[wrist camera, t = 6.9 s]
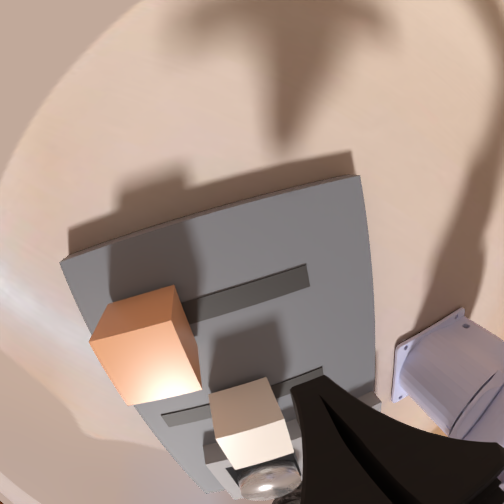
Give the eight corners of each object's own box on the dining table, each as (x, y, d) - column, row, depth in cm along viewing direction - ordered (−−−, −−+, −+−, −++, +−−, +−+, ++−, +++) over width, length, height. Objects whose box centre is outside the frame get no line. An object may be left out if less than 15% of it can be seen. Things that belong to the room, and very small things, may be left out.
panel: (347, 174, 18) (379, 176, 14) (364, 429, 26) (379, 450, 22) (68, 255, 15) (44, 274, 12) (204, 483, 23) (208, 508, 20)
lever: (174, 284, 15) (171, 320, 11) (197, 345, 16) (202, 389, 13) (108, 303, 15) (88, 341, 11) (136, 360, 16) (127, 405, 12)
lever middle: (266, 376, 18) (284, 418, 14) (277, 413, 19) (294, 452, 15) (208, 394, 18) (215, 438, 14) (225, 428, 19) (235, 469, 15)
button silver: (291, 452, 19) (297, 466, 17) (299, 476, 20) (304, 488, 19) (230, 470, 18) (233, 485, 17) (246, 492, 19) (249, 505, 18)
